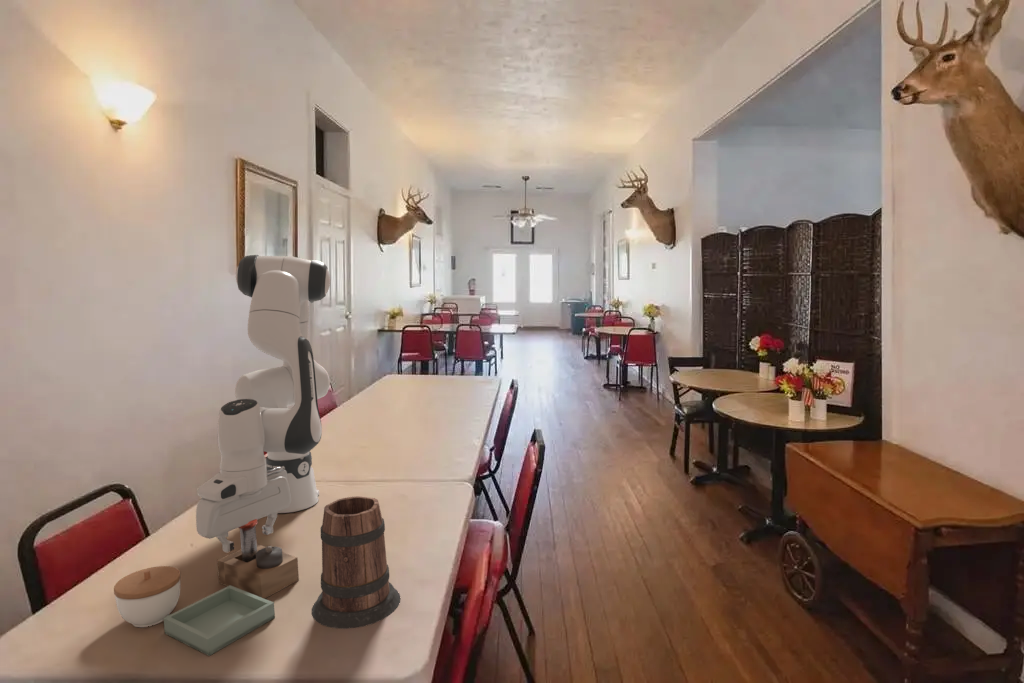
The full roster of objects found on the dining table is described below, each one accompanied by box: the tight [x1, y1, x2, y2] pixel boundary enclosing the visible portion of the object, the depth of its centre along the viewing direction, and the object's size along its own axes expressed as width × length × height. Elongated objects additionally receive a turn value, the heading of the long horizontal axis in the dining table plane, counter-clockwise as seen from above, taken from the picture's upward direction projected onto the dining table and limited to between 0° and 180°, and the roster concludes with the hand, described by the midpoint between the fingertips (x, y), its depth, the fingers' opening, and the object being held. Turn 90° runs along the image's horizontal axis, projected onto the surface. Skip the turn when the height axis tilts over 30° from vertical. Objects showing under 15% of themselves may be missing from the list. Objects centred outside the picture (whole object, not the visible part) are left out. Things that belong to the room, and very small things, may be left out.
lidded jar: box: [113, 565, 181, 628], centre depth 115 cm, size 11×11×9 cm
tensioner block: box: [216, 543, 300, 599], centre depth 128 cm, size 14×9×8 cm, turn 59°
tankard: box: [311, 496, 402, 630], centre depth 121 cm, size 24×17×20 cm
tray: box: [163, 585, 276, 657], centre depth 112 cm, size 13×13×3 cm
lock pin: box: [237, 519, 259, 563], centre depth 129 cm, size 4×4×13 cm
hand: (248, 541), depth 129 cm, fingers open, 8 cm apart
